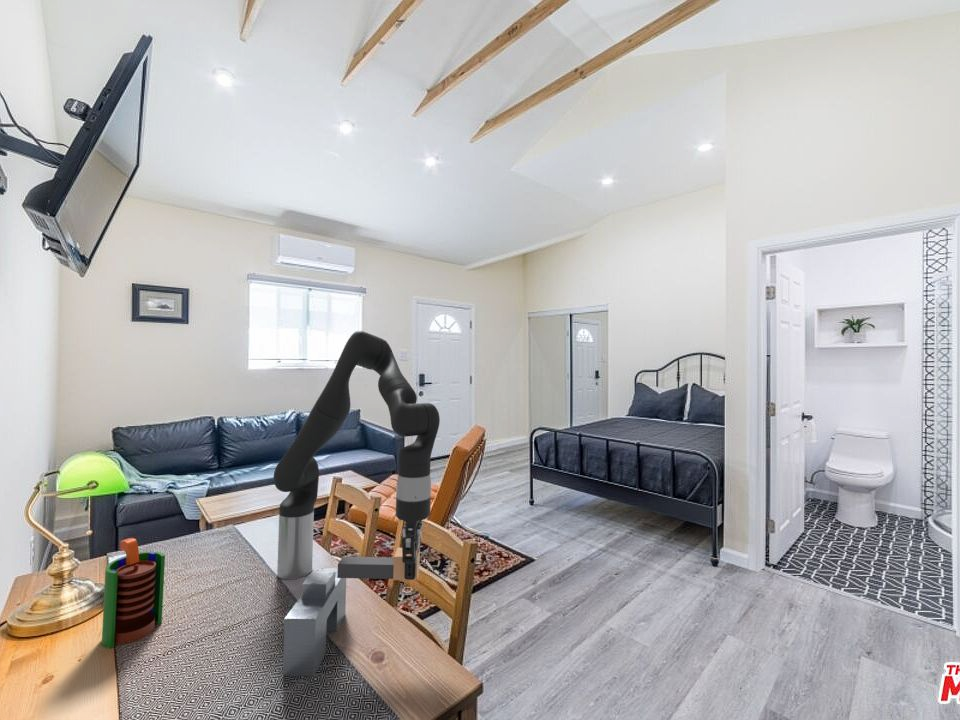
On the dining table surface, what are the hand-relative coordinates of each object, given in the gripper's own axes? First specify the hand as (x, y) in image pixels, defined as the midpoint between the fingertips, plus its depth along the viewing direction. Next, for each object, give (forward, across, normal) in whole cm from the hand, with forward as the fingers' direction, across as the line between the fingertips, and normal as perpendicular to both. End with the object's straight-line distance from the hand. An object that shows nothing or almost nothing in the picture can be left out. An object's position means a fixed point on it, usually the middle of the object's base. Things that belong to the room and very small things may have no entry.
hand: (411, 572), depth 91 cm
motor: (+15, +2, +62) cm, 64 cm away
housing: (+15, 0, +20) cm, 25 cm away
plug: (+1, 0, +7) cm, 7 cm away
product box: (+16, +22, +80) cm, 84 cm away
